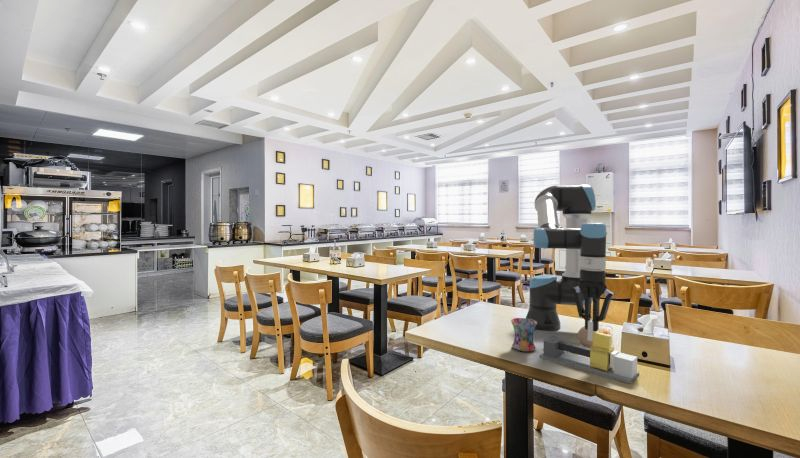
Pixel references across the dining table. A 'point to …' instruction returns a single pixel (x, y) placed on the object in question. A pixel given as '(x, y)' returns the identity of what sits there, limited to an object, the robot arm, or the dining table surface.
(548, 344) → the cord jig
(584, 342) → the egg
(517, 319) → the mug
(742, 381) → the dining table surface
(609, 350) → the yellow block
